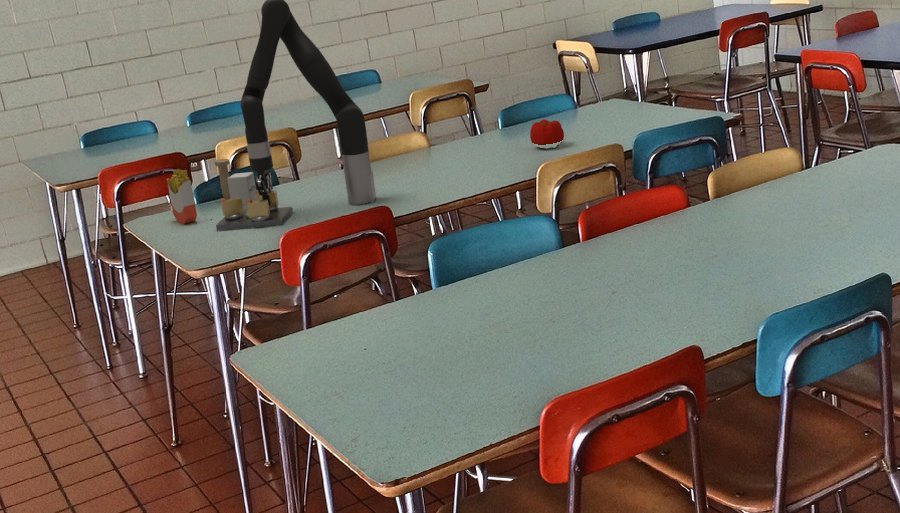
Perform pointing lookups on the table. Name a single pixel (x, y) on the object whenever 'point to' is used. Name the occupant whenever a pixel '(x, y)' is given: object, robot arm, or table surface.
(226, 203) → the knob
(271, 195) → the knob
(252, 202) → the knob
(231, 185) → the supplement box
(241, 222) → the base plate
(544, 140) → the tomato
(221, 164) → the handle
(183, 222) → the french fries container
